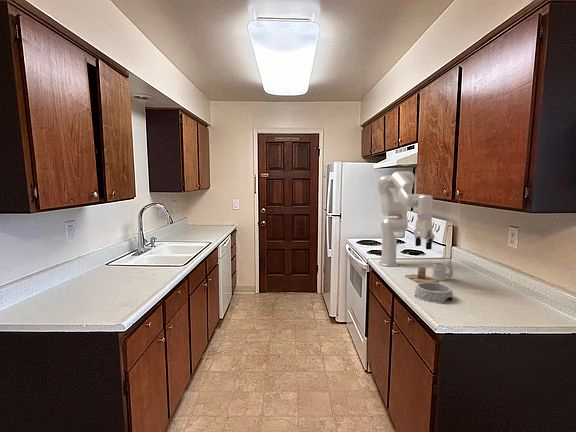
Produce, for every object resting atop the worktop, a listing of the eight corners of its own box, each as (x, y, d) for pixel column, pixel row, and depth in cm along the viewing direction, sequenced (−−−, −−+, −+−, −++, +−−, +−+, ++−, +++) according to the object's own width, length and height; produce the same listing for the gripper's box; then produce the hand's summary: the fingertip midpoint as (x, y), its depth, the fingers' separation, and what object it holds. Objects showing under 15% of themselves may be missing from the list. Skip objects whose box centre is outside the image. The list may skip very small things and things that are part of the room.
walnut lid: (405, 276, 200) (405, 265, 200) (423, 275, 203) (423, 264, 202) (419, 283, 187) (420, 271, 186) (438, 282, 189) (439, 270, 189)
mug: (429, 278, 200) (430, 258, 198) (448, 278, 200) (449, 258, 199) (435, 282, 192) (436, 261, 191) (455, 282, 193) (457, 261, 192)
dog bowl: (460, 299, 167) (461, 288, 167) (436, 306, 158) (436, 294, 158) (431, 289, 182) (431, 279, 181) (406, 295, 173) (407, 284, 172)
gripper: (409, 215, 198) (408, 245, 200) (428, 219, 182) (426, 250, 183) (421, 215, 200) (419, 244, 202) (440, 218, 183) (439, 250, 185)
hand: (423, 247), depth 193 cm, fingers open, 9 cm apart
